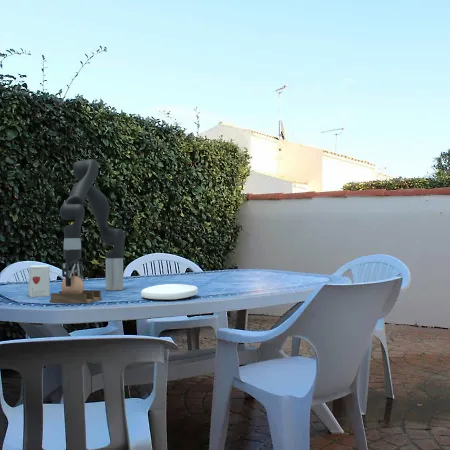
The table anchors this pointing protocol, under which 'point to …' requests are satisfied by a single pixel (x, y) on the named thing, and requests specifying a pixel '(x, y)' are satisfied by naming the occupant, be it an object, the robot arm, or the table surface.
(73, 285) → the saucer
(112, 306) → the table surface
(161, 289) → the plate
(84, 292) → the dish rack
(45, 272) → the supplement box
